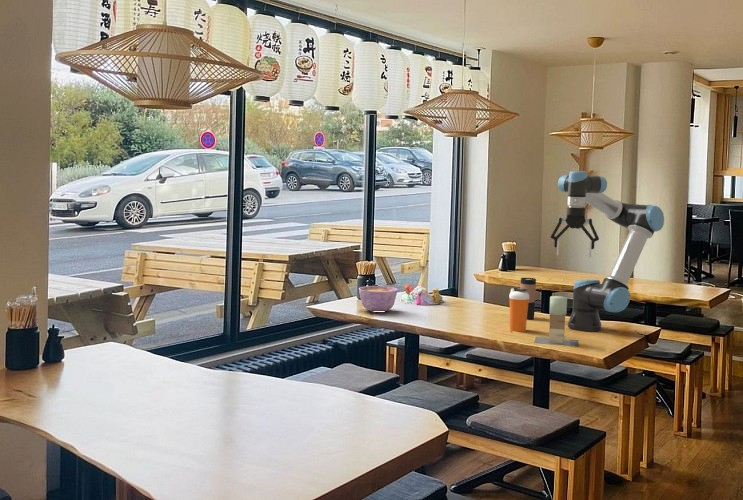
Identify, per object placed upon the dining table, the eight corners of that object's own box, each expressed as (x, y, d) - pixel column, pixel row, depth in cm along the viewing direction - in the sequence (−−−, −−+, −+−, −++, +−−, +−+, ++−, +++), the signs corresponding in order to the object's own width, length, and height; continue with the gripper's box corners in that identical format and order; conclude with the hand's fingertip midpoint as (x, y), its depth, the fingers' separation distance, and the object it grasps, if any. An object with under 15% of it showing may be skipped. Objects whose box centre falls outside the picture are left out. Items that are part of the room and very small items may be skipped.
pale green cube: (549, 311, 329) (550, 295, 328) (566, 312, 327) (567, 296, 326) (548, 314, 322) (549, 298, 321) (566, 315, 320) (566, 299, 319)
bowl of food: (350, 310, 392) (350, 288, 391) (378, 306, 405) (379, 284, 404) (376, 316, 377) (377, 293, 376) (405, 312, 390) (406, 289, 389)
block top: (550, 325, 329) (550, 312, 328) (564, 326, 327) (565, 313, 326) (549, 328, 323) (550, 314, 322) (564, 329, 321) (564, 315, 321)
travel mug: (518, 316, 385) (520, 277, 383) (533, 317, 384) (535, 277, 382) (519, 319, 378) (520, 279, 376) (535, 320, 377) (536, 280, 375)
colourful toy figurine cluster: (443, 299, 433) (444, 283, 432) (443, 306, 410) (444, 289, 409) (399, 298, 436) (399, 281, 435) (397, 305, 412) (397, 288, 411)
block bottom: (549, 339, 329) (550, 325, 329) (563, 340, 328) (564, 326, 327) (548, 342, 324) (549, 328, 323) (563, 343, 322) (564, 329, 321)
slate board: (535, 338, 334) (536, 336, 334) (578, 342, 330) (578, 340, 329) (533, 345, 322) (533, 342, 322) (577, 349, 317) (577, 346, 317)
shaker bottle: (523, 335, 342) (525, 290, 340) (504, 332, 347) (506, 288, 344) (530, 331, 349) (532, 288, 347) (512, 329, 354) (513, 286, 352)
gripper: (546, 206, 330) (543, 255, 332) (606, 208, 323) (603, 258, 325) (547, 205, 337) (544, 253, 339) (606, 207, 330) (603, 256, 332)
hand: (573, 255), depth 332 cm, fingers open, 13 cm apart
